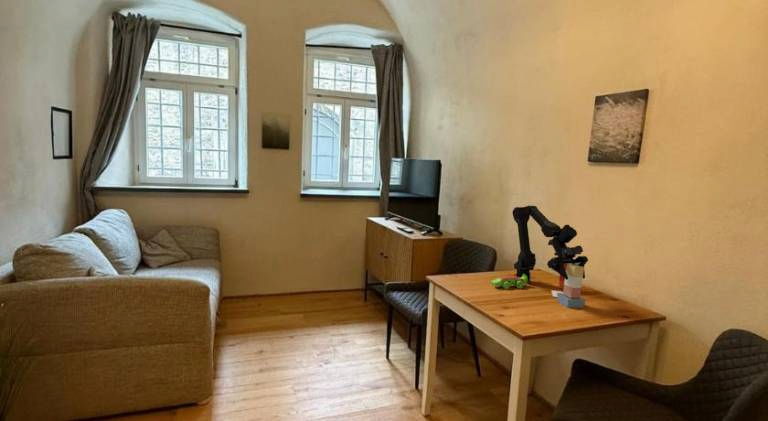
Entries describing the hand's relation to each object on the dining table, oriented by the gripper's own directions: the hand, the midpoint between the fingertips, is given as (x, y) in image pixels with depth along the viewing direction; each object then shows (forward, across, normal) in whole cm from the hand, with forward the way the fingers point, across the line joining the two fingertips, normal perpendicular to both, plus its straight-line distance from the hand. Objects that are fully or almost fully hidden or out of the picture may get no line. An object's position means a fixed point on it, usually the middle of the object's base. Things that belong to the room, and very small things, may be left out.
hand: (575, 278), depth 185 cm
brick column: (+5, 0, +7) cm, 9 cm away
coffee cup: (-6, +14, +24) cm, 28 cm away
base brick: (+8, 0, +10) cm, 13 cm away
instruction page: (0, +7, +17) cm, 18 cm away
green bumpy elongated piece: (-11, -13, +29) cm, 34 cm away
